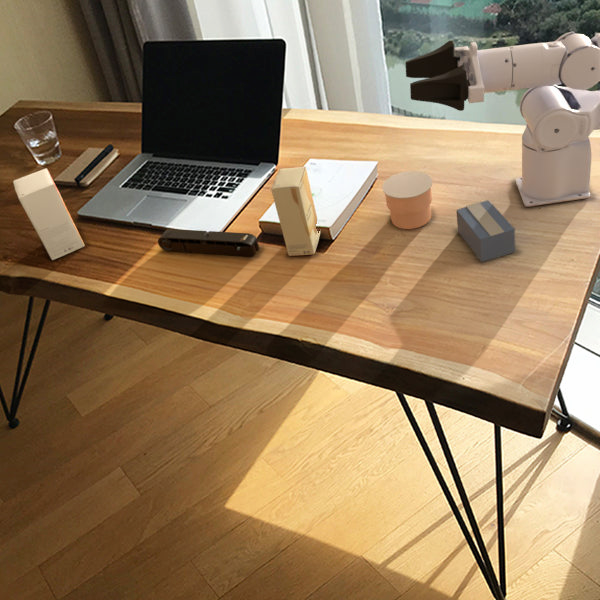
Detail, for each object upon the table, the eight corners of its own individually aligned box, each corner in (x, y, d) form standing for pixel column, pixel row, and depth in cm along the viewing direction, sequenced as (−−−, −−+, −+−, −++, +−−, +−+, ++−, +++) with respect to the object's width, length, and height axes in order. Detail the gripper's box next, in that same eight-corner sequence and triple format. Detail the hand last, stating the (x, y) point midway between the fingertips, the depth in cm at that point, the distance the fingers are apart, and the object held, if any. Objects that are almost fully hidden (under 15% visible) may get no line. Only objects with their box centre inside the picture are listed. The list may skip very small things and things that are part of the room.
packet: (457, 231, 102) (456, 209, 99) (489, 222, 102) (488, 199, 99) (481, 262, 95) (480, 238, 93) (515, 252, 95) (514, 228, 93)
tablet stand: (160, 251, 115) (154, 237, 113) (168, 242, 117) (162, 228, 115) (254, 258, 108) (249, 242, 106) (260, 248, 109) (256, 233, 107)
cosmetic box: (314, 255, 105) (298, 187, 97) (288, 257, 106) (269, 190, 98) (321, 231, 109) (306, 164, 102) (295, 233, 111) (278, 167, 103)
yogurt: (433, 201, 109) (429, 167, 106) (438, 227, 104) (435, 193, 100) (385, 208, 111) (381, 175, 107) (388, 235, 105) (383, 201, 101)
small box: (86, 246, 121) (54, 183, 113) (51, 261, 120) (17, 198, 112) (77, 227, 127) (46, 166, 119) (44, 241, 126) (11, 180, 118)
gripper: (499, 21, 96) (403, 32, 98) (521, 60, 85) (412, 73, 87) (497, 69, 101) (404, 80, 102) (517, 112, 90) (413, 123, 91)
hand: (408, 80), depth 95 cm, fingers open, 7 cm apart
